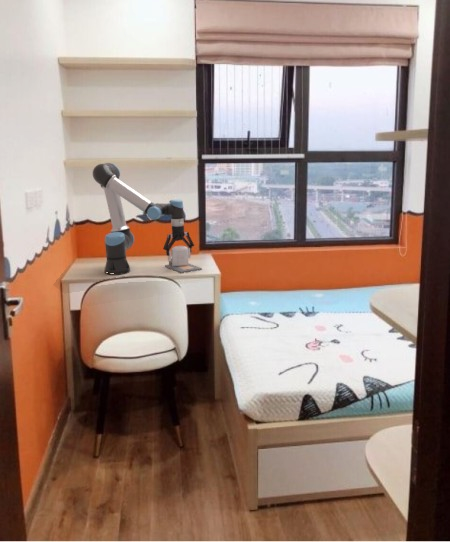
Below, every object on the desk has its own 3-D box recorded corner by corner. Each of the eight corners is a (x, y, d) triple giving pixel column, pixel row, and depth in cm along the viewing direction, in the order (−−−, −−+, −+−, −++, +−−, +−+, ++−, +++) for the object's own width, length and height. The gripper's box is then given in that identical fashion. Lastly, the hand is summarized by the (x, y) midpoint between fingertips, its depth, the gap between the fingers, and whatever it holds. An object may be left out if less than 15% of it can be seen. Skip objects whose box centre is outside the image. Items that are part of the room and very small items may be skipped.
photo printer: (188, 264, 327) (187, 244, 324) (189, 265, 323) (188, 246, 320) (171, 265, 325) (170, 245, 323) (172, 266, 321) (171, 247, 318)
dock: (181, 273, 309) (180, 265, 308) (165, 266, 327) (164, 259, 326) (201, 269, 316) (201, 262, 315) (184, 263, 334) (184, 256, 333)
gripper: (161, 228, 309) (163, 263, 314) (198, 223, 322) (199, 257, 327) (156, 226, 316) (158, 261, 321) (192, 222, 328) (194, 255, 333)
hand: (179, 259), depth 324 cm, fingers open, 13 cm apart
